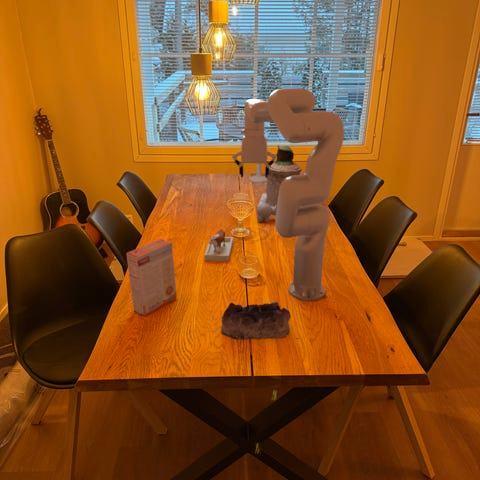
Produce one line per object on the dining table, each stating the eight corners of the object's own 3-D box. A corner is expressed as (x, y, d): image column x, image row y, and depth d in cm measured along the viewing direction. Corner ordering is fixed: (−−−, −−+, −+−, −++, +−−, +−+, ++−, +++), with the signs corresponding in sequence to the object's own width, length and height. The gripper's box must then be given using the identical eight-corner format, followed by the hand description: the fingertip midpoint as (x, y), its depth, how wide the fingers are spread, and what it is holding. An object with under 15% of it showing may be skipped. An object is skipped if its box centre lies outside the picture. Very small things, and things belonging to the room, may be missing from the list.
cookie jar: (305, 212, 226) (308, 150, 213) (257, 210, 229) (258, 149, 216) (305, 197, 248) (308, 140, 235) (262, 196, 252) (263, 139, 239)
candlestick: (259, 176, 291) (260, 130, 279) (272, 180, 282) (274, 132, 270) (244, 179, 283) (244, 132, 271) (258, 183, 274) (258, 135, 262)
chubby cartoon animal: (282, 223, 211) (283, 206, 208) (256, 223, 212) (256, 206, 208) (281, 218, 218) (282, 201, 215) (256, 218, 219) (256, 201, 215)
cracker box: (165, 293, 151) (160, 237, 143) (177, 299, 148) (173, 242, 139) (132, 310, 141) (125, 251, 133) (144, 317, 138) (138, 257, 129)
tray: (228, 261, 174) (228, 255, 173) (204, 260, 174) (204, 255, 173) (233, 242, 191) (233, 237, 190) (211, 241, 191) (211, 236, 190)
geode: (223, 347, 124) (220, 315, 121) (220, 328, 135) (217, 298, 132) (294, 339, 126) (293, 307, 123) (285, 321, 137) (284, 291, 134)
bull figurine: (207, 256, 177) (206, 237, 173) (218, 243, 188) (218, 225, 185) (217, 257, 175) (216, 238, 172) (228, 244, 187) (228, 226, 184)
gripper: (231, 134, 166) (231, 178, 173) (277, 135, 165) (275, 179, 172) (232, 131, 173) (233, 173, 180) (277, 131, 172) (275, 174, 179)
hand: (254, 176), depth 176 cm, fingers open, 9 cm apart
